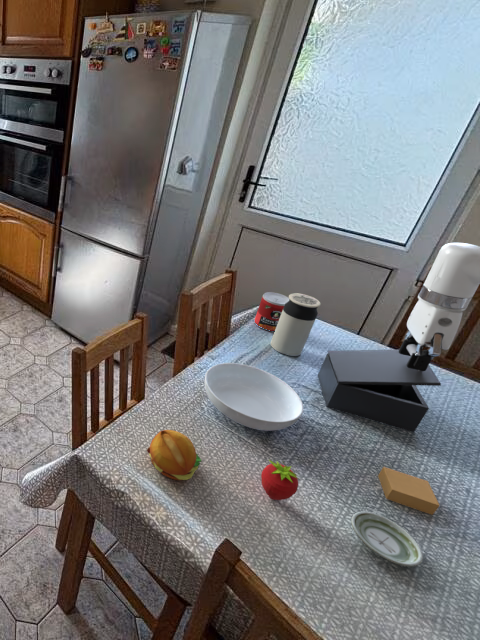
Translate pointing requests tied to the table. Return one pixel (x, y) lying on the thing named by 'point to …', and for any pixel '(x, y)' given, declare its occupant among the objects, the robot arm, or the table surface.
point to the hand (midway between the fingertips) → (411, 361)
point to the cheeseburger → (174, 455)
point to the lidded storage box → (373, 400)
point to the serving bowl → (252, 396)
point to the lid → (379, 368)
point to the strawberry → (279, 481)
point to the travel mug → (295, 324)
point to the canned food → (270, 310)
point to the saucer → (386, 539)
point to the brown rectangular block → (408, 490)
